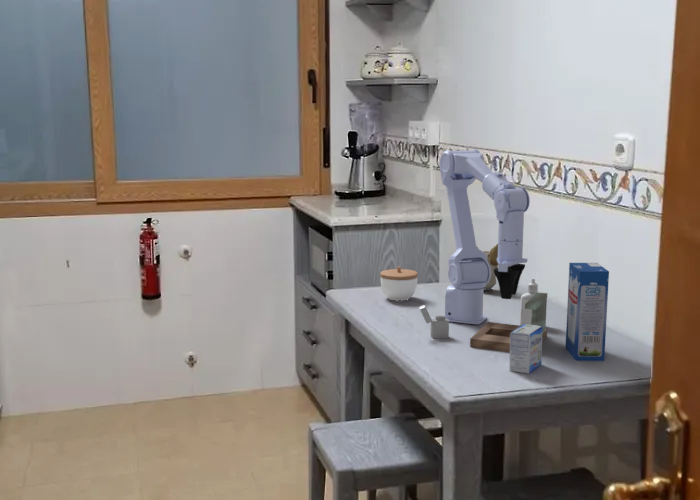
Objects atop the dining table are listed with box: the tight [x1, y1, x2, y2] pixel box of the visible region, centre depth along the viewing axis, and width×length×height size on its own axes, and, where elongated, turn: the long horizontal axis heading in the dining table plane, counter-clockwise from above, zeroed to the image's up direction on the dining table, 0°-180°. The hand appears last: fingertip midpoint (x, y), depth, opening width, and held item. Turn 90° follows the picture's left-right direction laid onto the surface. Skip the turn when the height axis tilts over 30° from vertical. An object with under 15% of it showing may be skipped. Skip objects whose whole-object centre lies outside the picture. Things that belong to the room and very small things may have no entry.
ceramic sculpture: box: [476, 243, 498, 290], centre depth 249 cm, size 11×9×15 cm
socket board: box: [469, 291, 548, 353], centre depth 195 cm, size 14×16×11 cm
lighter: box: [418, 304, 450, 339], centre depth 199 cm, size 7×2×8 cm, turn 98°
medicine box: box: [509, 324, 543, 375], centre depth 176 cm, size 8×4×9 cm, turn 148°
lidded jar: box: [379, 266, 419, 302], centre depth 238 cm, size 11×11×9 cm
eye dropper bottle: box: [519, 278, 539, 326], centre depth 209 cm, size 4×6×12 cm
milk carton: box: [565, 262, 610, 362], centre depth 185 cm, size 10×6×20 cm, turn 178°
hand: (508, 296), depth 197 cm, fingers open, 4 cm apart
